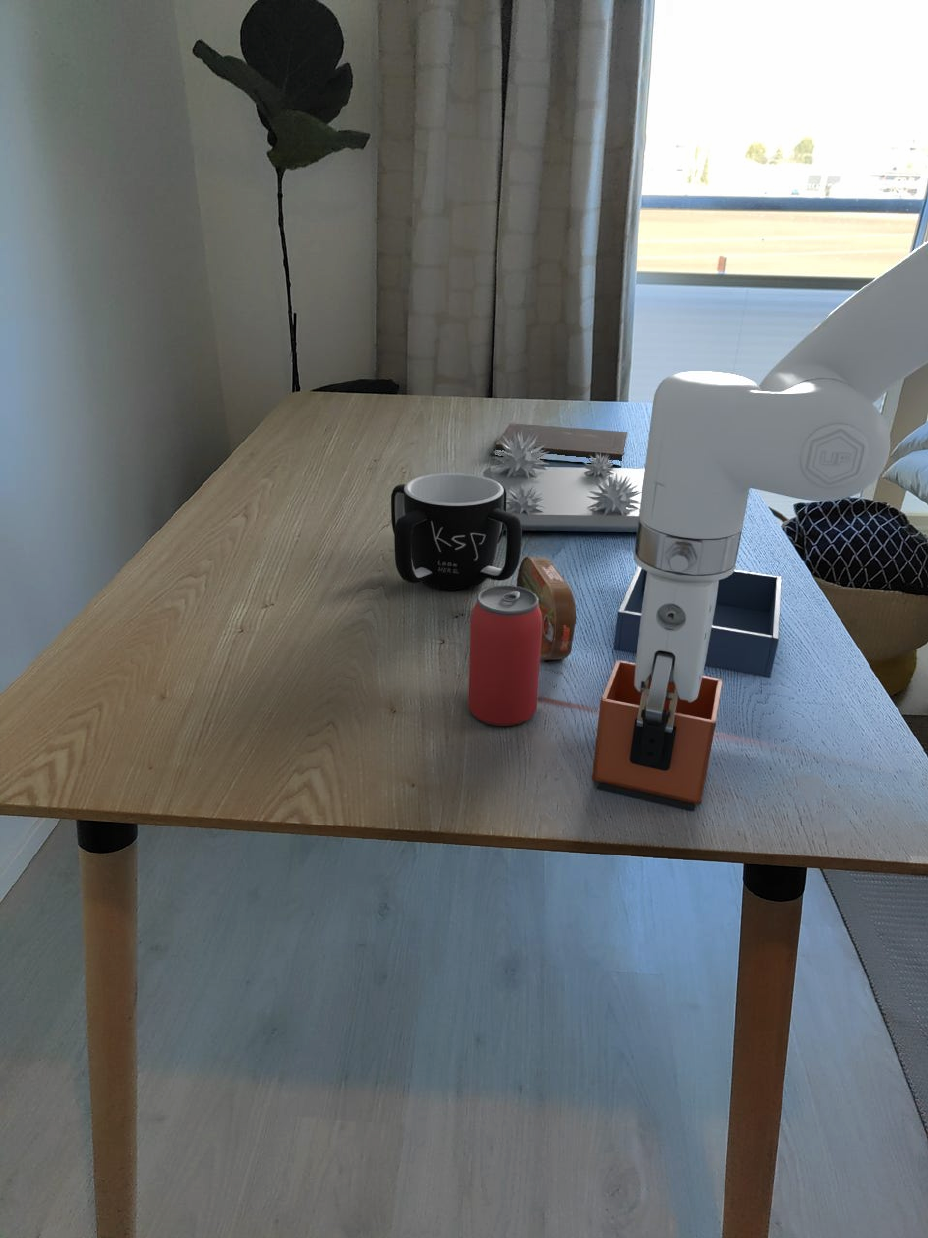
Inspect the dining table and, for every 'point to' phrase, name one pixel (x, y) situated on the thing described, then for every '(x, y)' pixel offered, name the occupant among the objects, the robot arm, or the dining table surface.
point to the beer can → (504, 655)
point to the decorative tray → (567, 491)
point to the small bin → (689, 741)
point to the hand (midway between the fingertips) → (656, 737)
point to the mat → (646, 796)
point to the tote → (722, 622)
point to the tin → (550, 605)
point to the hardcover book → (569, 440)
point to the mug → (453, 530)
